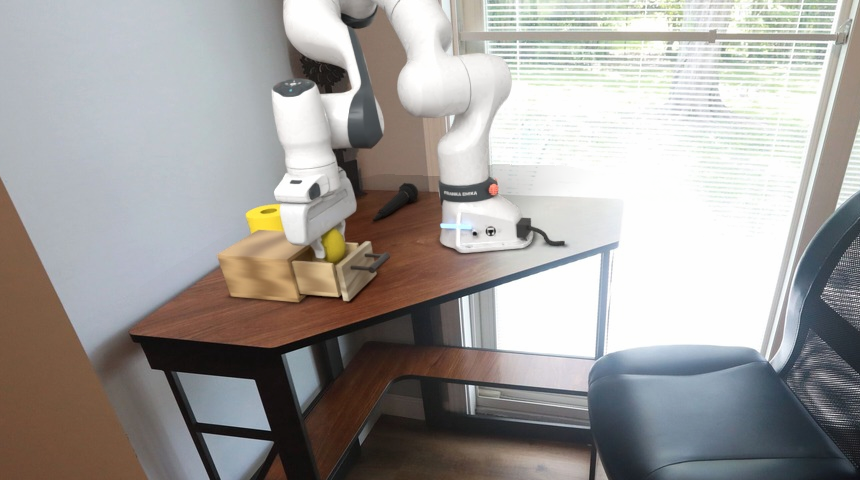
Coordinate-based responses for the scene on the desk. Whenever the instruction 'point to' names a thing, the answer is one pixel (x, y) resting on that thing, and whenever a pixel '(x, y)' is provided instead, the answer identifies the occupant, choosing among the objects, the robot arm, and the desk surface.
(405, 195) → the microphone
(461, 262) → the desk surface
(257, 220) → the tape roll
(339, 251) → the lemon
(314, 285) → the drawer
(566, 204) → the desk surface
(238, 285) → the cabinet
